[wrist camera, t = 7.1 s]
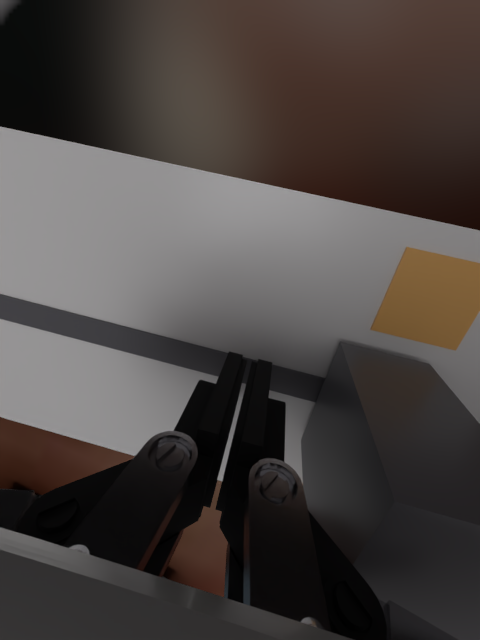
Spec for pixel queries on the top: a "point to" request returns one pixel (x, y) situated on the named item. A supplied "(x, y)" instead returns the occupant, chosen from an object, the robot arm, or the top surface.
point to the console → (206, 291)
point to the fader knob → (399, 483)
